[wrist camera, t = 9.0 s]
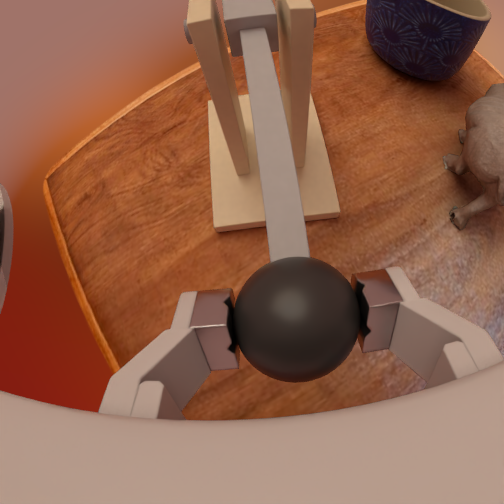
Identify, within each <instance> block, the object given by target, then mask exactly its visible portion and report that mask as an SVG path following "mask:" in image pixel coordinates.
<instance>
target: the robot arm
mask: <svg viewBox="0 0 504 504" xmlns="http://www.w3.org/2000/svg"><path fill="white" fill-rule="evenodd" d="M351 286H352V288H353V290H354V292H355V294H356V297H357V300H358V303H359V309H360V328H359V333H358V337H357V338H358V341H359V344H360V347H361V350H362V353H366V352H372V351H378V350H384V349H389V350H390V351H391V352H392V353H393V354H394V355H396V356H397V357H398V358H399V359H400V360H402V361H403V362H404V363H405V364H406V365H407V366H409V367H410V368H411V369H412V370H413V371H414V372H416V373H417V374H418V375H419V376H420V377H421V378H423V379H424V380H425V381H426V382H427V385H426V387H425V388H424V390H421V391H418V392H414V393H411V394H407V395H403V396H399V397H395V398H391V399H387V400H383V401H379V402H374V403H370V404H365V405H360V406H355V407H350V408H344V409H338V410H332V411H326V412H319V413H312V414H304V415H295V416H286V417H275V418H262V419H245V420H186V419H185V417H184V416H183V414H182V413H181V411H182V410H183V409H184V407H185V406H186V405H187V403H188V402H189V401H190V399H191V398H192V397H193V396H194V394H195V393H196V392H197V390H198V389H199V388H200V386H201V385H202V384H203V382H204V381H205V380H206V378H207V377H208V376H209V374H210V373H211V371H215V370H228V369H239V360H240V350H239V346H238V343H237V340H236V337H235V333H234V328H233V314H234V307H235V297H234V293H233V290H232V289H231V288H227V289H215V290H202V291H191V292H183V293H182V294H181V295H180V298H179V301H178V304H177V308H176V311H175V314H174V318H173V321H172V325H171V328H170V329H169V330H165V331H164V332H162V333H161V334H160V335H159V336H158V337H157V338H156V339H154V340H153V341H152V342H151V343H150V344H149V345H147V346H146V347H145V348H144V349H143V350H142V351H141V352H139V353H138V354H137V355H136V356H135V357H134V358H132V359H131V360H130V361H129V362H128V363H127V364H126V365H124V366H123V367H122V368H121V369H120V370H119V371H118V372H116V373H115V374H114V375H113V376H112V377H111V378H110V380H109V383H108V386H107V389H106V391H105V394H104V397H103V400H102V403H101V406H100V408H99V411H98V413H97V412H91V411H84V410H79V409H73V408H67V407H63V406H57V405H53V404H49V403H44V402H40V401H36V400H32V399H28V398H24V397H20V396H17V395H13V394H9V393H6V392H3V391H0V504H504V358H503V356H502V355H501V353H500V351H499V350H498V348H497V346H496V345H495V343H494V342H493V340H492V338H491V337H490V335H489V334H488V332H487V331H486V330H485V329H483V328H481V327H479V326H477V325H476V324H474V323H472V322H470V321H468V320H466V319H465V318H463V317H461V316H459V315H457V314H455V313H453V312H452V311H450V310H448V309H446V308H444V307H442V306H440V305H438V304H436V303H435V302H433V301H431V300H429V299H427V298H420V296H419V294H418V293H417V291H416V290H415V288H414V287H413V285H412V284H411V282H410V281H409V279H408V277H407V276H406V274H405V273H404V271H403V270H402V269H401V267H399V266H395V267H389V268H384V269H381V270H374V271H368V272H361V273H354V274H352V276H351Z"/></svg>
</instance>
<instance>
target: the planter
mask: <svg viewBox="0 0 504 504" xmlns="http://www.w3.org/2000/svg"><path fill="white" fill-rule="evenodd" d="M490 19H491V12H490V10H489V8H488V7H487V5H486V4H485V3H484V2H483V1H482V0H367V6H366V34H367V38H368V41H369V43H370V45H371V46H372V48H373V49H374V51H375V52H376V53H377V54H378V55H379V56H380V57H381V58H382V59H383V60H385V61H386V62H387V63H388V64H390V65H391V66H393V67H394V68H396V69H398V70H400V71H402V72H404V73H406V74H408V75H410V76H413V77H416V78H419V79H423V80H430V81H441V80H446V79H448V78H450V77H452V76H453V75H455V74H456V73H457V72H458V71H459V70H460V69H461V67H462V66H463V65H464V63H465V62H466V61H467V59H468V58H469V56H470V54H471V53H472V51H473V49H474V48H475V46H476V44H477V42H478V41H479V39H480V37H481V35H482V34H483V32H484V30H485V28H486V26H487V24H488V23H489V21H490Z"/></svg>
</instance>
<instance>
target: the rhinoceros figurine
mask: <svg viewBox="0 0 504 504" xmlns="http://www.w3.org/2000/svg"><path fill="white" fill-rule="evenodd" d="M465 119H466V130H462V129H459V138H460V142H461V143H463V142H464V146H463V150H462V153H461V155H460V156H458V155H453V154H447V156H443V160H444V164H445V169H449V170H451V171H452V172H454V173H456V174H458V175H463V174H465V173H467V172H472V173H473V174H474V175H475V177H476V178H477V179H478V181H479V182H480V184H481V186H482V188H483V193H482V194H481V195H480V196H479V197H478V198H477V199H475V200H473V201H471V202H470V203H469V204H468V205H466V206H464V207H462V208H457V207H456V206H454V207H453V210H451V211H450V216H451V214H452V213H455V214H454V215H455V217H454V220H453V219H451V218H450V220H451V221H452V223H454V224H455V225H456V226H458V228H459V229H460V230H462V229H464V228H465V226H466V224H467V221H468V220H469V218H470V217H471V216H473V215H475V214H477V213H480V212H481V211H484V210H486V209H488V208H491V207H492V206H495V205H497V204H499V205H501V206H504V83H502V84H493V85H492V86H491V87H490V88H489V89H488V91H487V92H486V94H485V96H484V97H481V98H479V99H478V100H476V101H475V102H474V103H473V104H472V105H470V107H469V108H468V110H467V112H466V117H465Z"/></svg>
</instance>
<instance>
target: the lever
mask: <svg viewBox="0 0 504 504" xmlns="http://www.w3.org/2000/svg"><path fill="white" fill-rule="evenodd" d="M222 4H223V15H224V23H225V27H226V31H227V35H228V40H229V44H230V49H231V53H232V56H233V57H236V56H243V57H244V64H245V71H246V78H247V85H248V92H249V99H250V106H251V113H252V120H253V128H254V135H255V142H256V150H257V157H258V165H259V173H260V180H261V188H262V196H263V204H264V212H265V220H266V228H267V237H268V245H269V253H270V263H268V264H266V265H264V266H263V267H261V268H260V269H258V270H257V271H256V272H255V273H254V274H252V276H251V277H250V278H249V279H248V280H247V281H246V283H245V284H244V286H243V287H242V289H241V291H240V293H239V295H238V297H237V300H236V303H235V307H234V314H233V328H234V333H235V337H236V340H237V343H238V345H239V348H240V350H241V351H242V353H243V355H244V356H245V358H246V359H247V360H248V361H249V362H250V363H251V364H252V365H253V366H254V367H255V368H256V369H257V370H259V371H260V372H262V373H263V374H265V375H267V376H269V377H271V378H274V379H277V380H280V381H285V382H295V383H296V382H307V381H312V380H315V379H318V378H321V377H323V376H325V375H327V374H329V373H330V372H332V371H333V370H335V369H336V368H337V367H338V366H339V365H340V364H341V363H342V362H343V361H344V360H345V359H346V358H347V356H348V355H349V354H350V352H351V351H352V349H353V347H354V345H355V342H356V340H357V337H358V333H359V328H360V309H359V303H358V300H357V297H356V294H355V292H354V290H353V288H352V286H351V285H350V283H349V282H348V280H347V279H346V278H345V277H344V276H343V275H342V274H341V273H340V272H339V271H338V270H337V269H335V268H334V267H332V266H331V265H329V264H327V263H325V262H323V261H321V260H318V259H315V258H310V252H309V245H308V238H307V232H306V225H305V219H304V212H303V206H302V200H301V194H300V188H299V183H298V177H297V171H296V166H295V160H294V155H293V150H292V144H291V139H290V134H289V129H288V124H287V119H286V115H285V110H284V105H283V101H282V96H281V91H280V87H279V82H278V78H277V74H276V69H275V65H274V61H273V57H272V53H271V52H276V51H279V40H278V23H277V13H276V10H275V7H274V4H273V1H272V0H222Z"/></svg>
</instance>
